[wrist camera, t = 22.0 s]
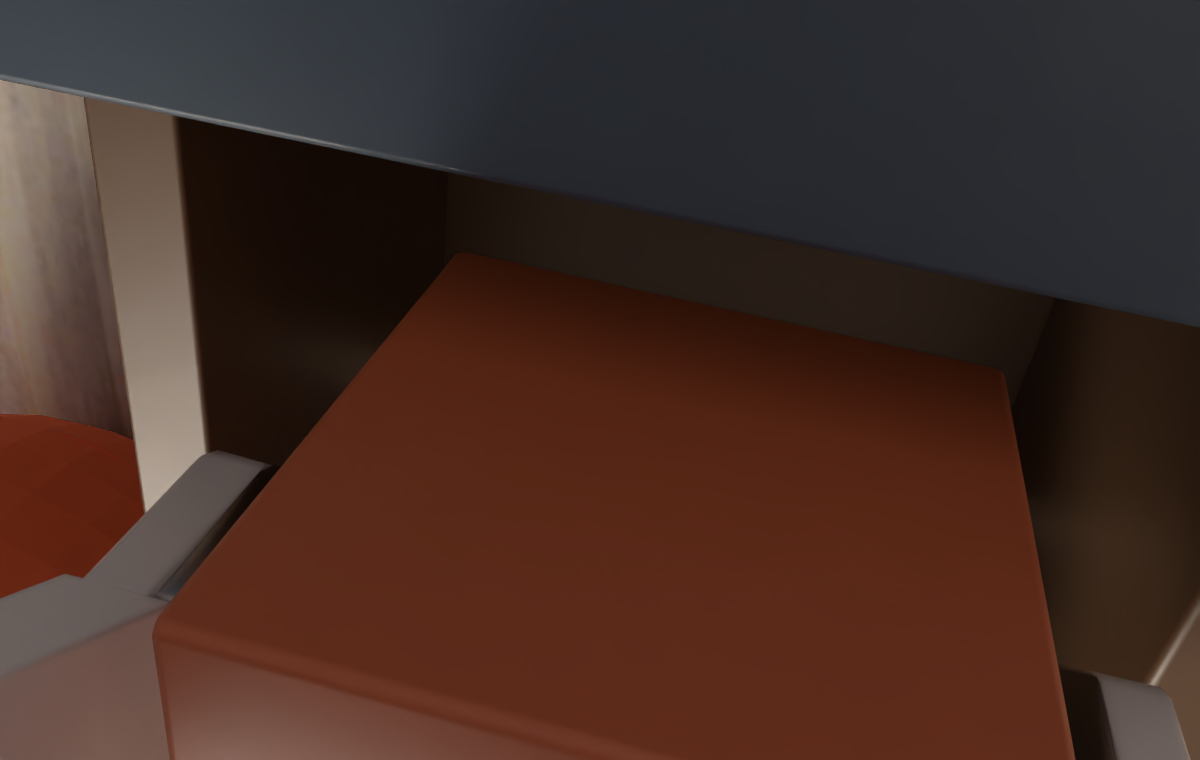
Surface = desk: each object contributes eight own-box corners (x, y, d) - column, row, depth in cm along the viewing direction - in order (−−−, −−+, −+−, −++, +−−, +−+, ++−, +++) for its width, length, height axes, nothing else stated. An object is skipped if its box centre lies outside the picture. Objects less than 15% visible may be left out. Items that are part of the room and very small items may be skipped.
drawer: (931, 771, 21) (954, 1253, 14) (375, 624, 22) (162, 1002, 15) (1464, -389, 11) (2376, -569, 4) (385, -523, 12) (-199, -815, 6)
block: (435, 628, 11) (211, 1077, 7) (456, 245, 9) (141, 624, 5) (859, 742, 10) (845, 1286, 7) (1008, 365, 8) (1109, 891, 4)
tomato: (464, 664, 23) (231, 1184, 15) (126, 717, 27) (-209, 1153, 19) (214, 254, 19) (-301, 658, 11) (-143, 386, 23) (-723, 757, 15)
